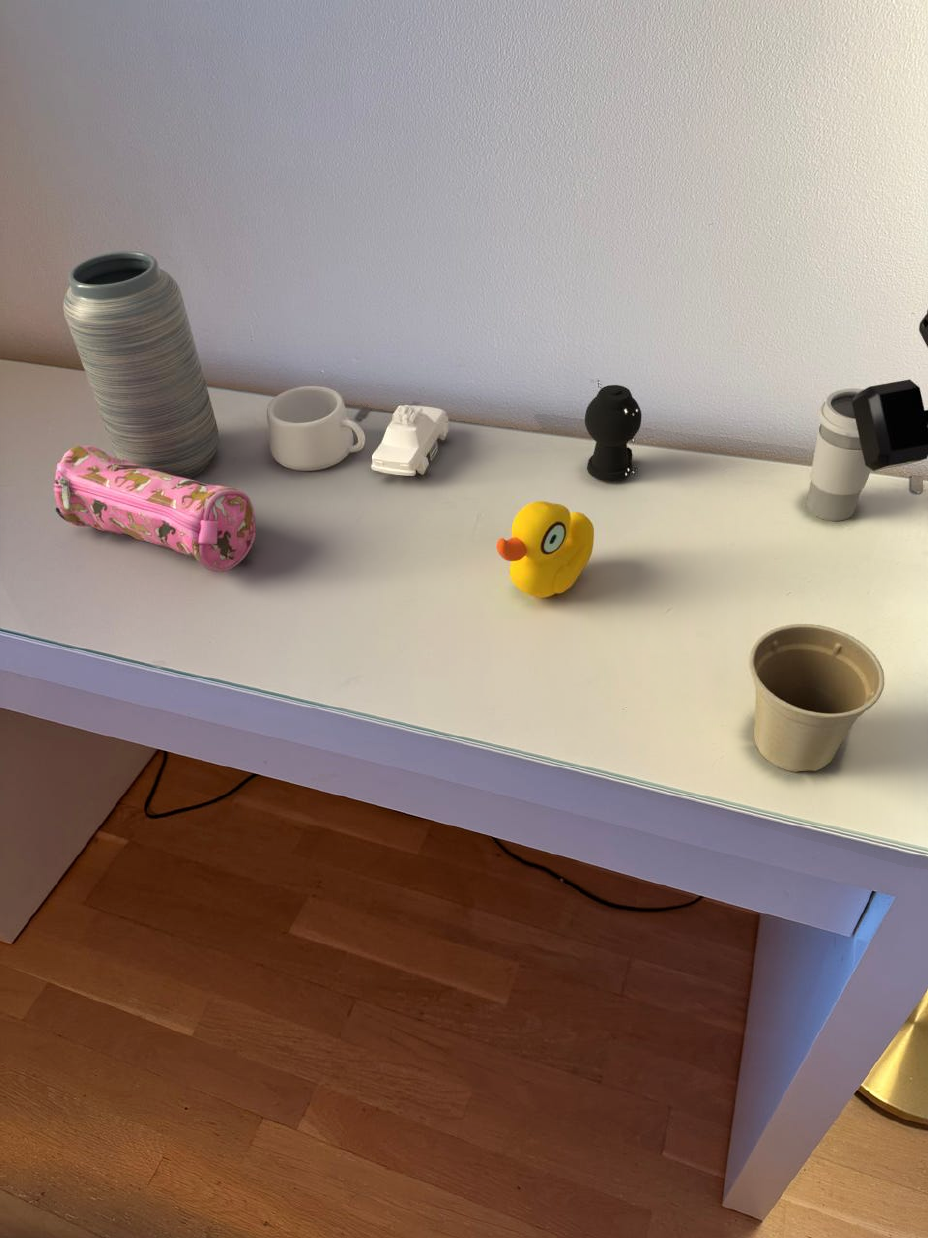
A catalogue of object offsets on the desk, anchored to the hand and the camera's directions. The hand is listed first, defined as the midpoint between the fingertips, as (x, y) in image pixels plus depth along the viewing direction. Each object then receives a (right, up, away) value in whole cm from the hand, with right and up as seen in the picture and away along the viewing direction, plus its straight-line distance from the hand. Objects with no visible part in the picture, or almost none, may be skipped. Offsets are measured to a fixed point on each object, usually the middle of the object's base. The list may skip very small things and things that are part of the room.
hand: (910, 436), depth 80 cm
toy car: (-45, +2, +26) cm, 51 cm away
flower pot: (-12, -26, -6) cm, 29 cm away
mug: (-55, +3, +28) cm, 62 cm away
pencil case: (-70, -8, +17) cm, 72 cm away
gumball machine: (-23, 0, +22) cm, 31 cm away
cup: (-1, -5, +15) cm, 16 cm away
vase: (-72, +2, +28) cm, 77 cm away
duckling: (-31, -13, +9) cm, 34 cm away
